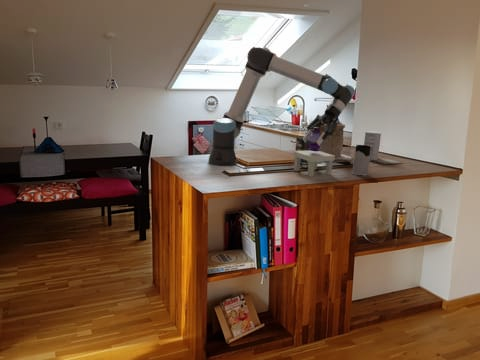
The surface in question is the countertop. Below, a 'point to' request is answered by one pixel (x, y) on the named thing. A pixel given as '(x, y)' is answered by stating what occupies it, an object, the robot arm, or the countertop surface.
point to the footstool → (313, 160)
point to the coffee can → (302, 147)
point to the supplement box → (373, 142)
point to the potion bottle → (314, 139)
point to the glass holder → (362, 159)
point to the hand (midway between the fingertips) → (311, 142)
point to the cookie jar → (334, 142)
